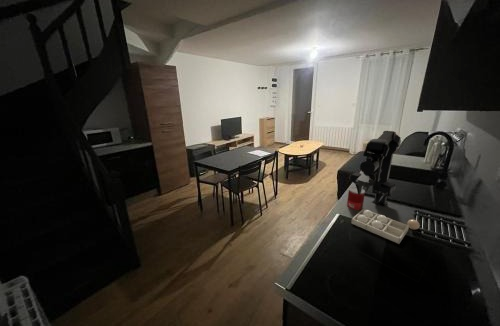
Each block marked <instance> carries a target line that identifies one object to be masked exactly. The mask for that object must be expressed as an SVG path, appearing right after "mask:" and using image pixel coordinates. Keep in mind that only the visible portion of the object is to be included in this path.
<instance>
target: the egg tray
mask: <svg viewBox="0 0 500 326" xmlns="http://www.w3.org/2000/svg"><path fill="white" fill-rule="evenodd" d="M364 210H366V209H365V208H362V209H361V210H359V212H358V213H357V214H356V215H354V216H352V218H351V224H352V225H355V226H356V227H359V228H362V229H364V230H366V231H368V232H370V233H373V234H375V235H378V236H380V237H382V238H384V239H387V240H389V241H391V242H393V243H396V244H398V245H400V243H401V242H402V240H403V239H404V237H405V236H406V234H407V233H408V231H409V229H410V228H409V225H407V223H404V222H401V221H398V220H394V219H392V218H390V217H387V219H388V222H387V223H386V224H384V223H382V225H383V228H382V229H381V230H379V229H377V228H374V227H372V226H371V223H372V222H373V221H375V220H377V217H378V216H379V215H380V214H378V213H376V212H373V211H371V212H372V213H373V217H372V218H368V217H367V219H368V221H367V223H366V224H365V223H362V222H360V221H357V217H358V216H359V215H363V211H364Z"/></svg>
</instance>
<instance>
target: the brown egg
mask: <svg viewBox="0 0 500 326" xmlns="http://www.w3.org/2000/svg"><path fill="white" fill-rule="evenodd" d="M406 225H409V229H411V230H418V229H419V228H420V226H421V225H420V223H419V221H418V220H416V219H412V218H411V219H408V221H407V223H406Z"/></svg>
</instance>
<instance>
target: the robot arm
mask: <svg viewBox="0 0 500 326" xmlns="http://www.w3.org/2000/svg"><path fill="white" fill-rule="evenodd" d="M401 139H402V138H401V137H400V135H398V134H397V133H396V132H395V131H393V130H383V132H382V134H380V136H379V137H378V138H372V139H370V140H369V141H368V142H367V143H366V147H365V150H364V151H363V157H365V158H366V159H365V160H363V161H362V162H361V163H360V165H359V169H360V171H361V173H360V172H357V171H356V172H354V173H351V174H350V175H349V178H348V179H349V181H351V182H352V183H353V184H354V185H355V187H356V188H357V191H358V194H359V195H360V193H361V190H362V189H363V188H366V189H367V188H369V187H372V194H374V199H373V200H372V201H371V203H372V204H375V205H377V206H381V207H385V206H386V205H388V202H387V198H389V197H392V195H393V192H394V191H396V189H397V186H396V184H395V183H394V182H393V183H392V182H391V181H390V179H389V177H390V172H391V168H392V163H393V158H394V154H395V152H396V151H397V150H398V149H399V148H400V147H401V144H402V140H401Z"/></svg>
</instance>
